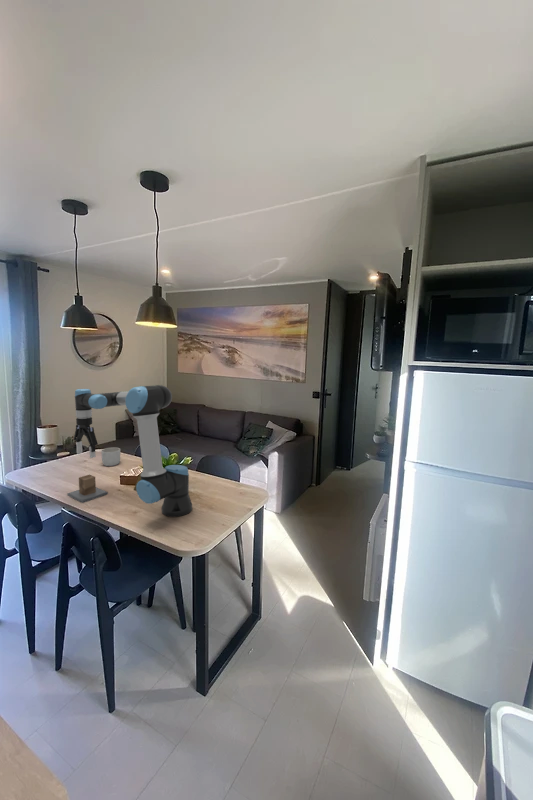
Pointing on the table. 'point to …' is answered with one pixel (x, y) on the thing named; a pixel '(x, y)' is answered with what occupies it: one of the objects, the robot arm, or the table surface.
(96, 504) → the table surface
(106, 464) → the planter
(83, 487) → the walnut block
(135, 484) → the rock
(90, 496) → the slate board
